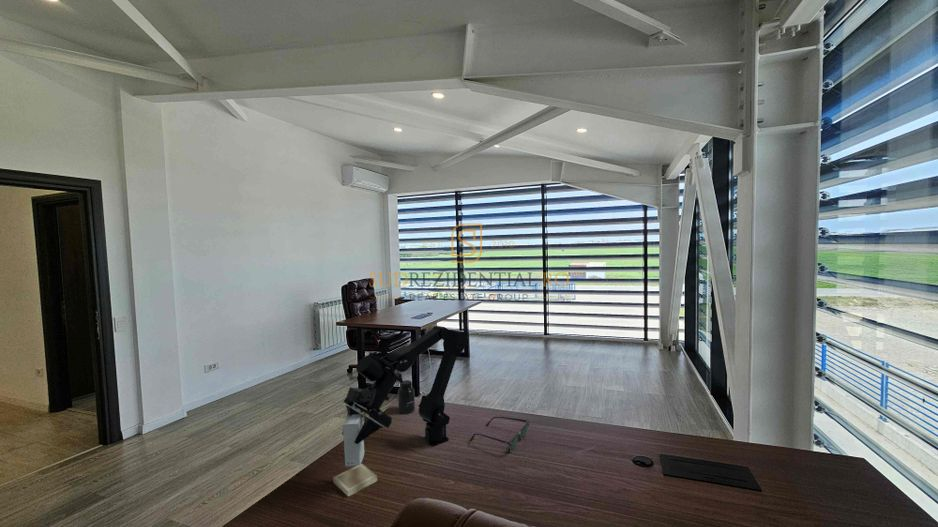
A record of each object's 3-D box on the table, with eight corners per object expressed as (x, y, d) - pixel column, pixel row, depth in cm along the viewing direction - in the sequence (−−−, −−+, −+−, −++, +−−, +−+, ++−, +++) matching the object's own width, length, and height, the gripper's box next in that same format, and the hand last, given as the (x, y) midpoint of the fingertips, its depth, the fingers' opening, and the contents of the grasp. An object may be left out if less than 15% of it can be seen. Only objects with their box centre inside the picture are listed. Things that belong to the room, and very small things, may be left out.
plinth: (361, 468, 110) (361, 463, 110) (377, 480, 103) (377, 475, 103) (333, 482, 103) (333, 477, 103) (348, 496, 97) (347, 491, 97)
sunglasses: (489, 423, 136) (488, 410, 136) (531, 434, 127) (530, 420, 127) (466, 444, 122) (465, 429, 122) (511, 457, 113) (510, 442, 113)
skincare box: (360, 465, 100) (358, 423, 100) (344, 467, 100) (342, 425, 99) (364, 453, 106) (363, 413, 106) (349, 454, 106) (347, 414, 105)
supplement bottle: (411, 414, 145) (410, 385, 144) (395, 413, 146) (394, 385, 146) (417, 407, 151) (416, 379, 151) (402, 406, 153) (401, 378, 152)
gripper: (347, 369, 111) (314, 417, 104) (380, 383, 98) (344, 439, 91) (371, 386, 117) (341, 432, 110) (405, 401, 104) (374, 455, 97)
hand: (349, 439), depth 102 cm, fingers closed on skincare box, 7 cm apart
